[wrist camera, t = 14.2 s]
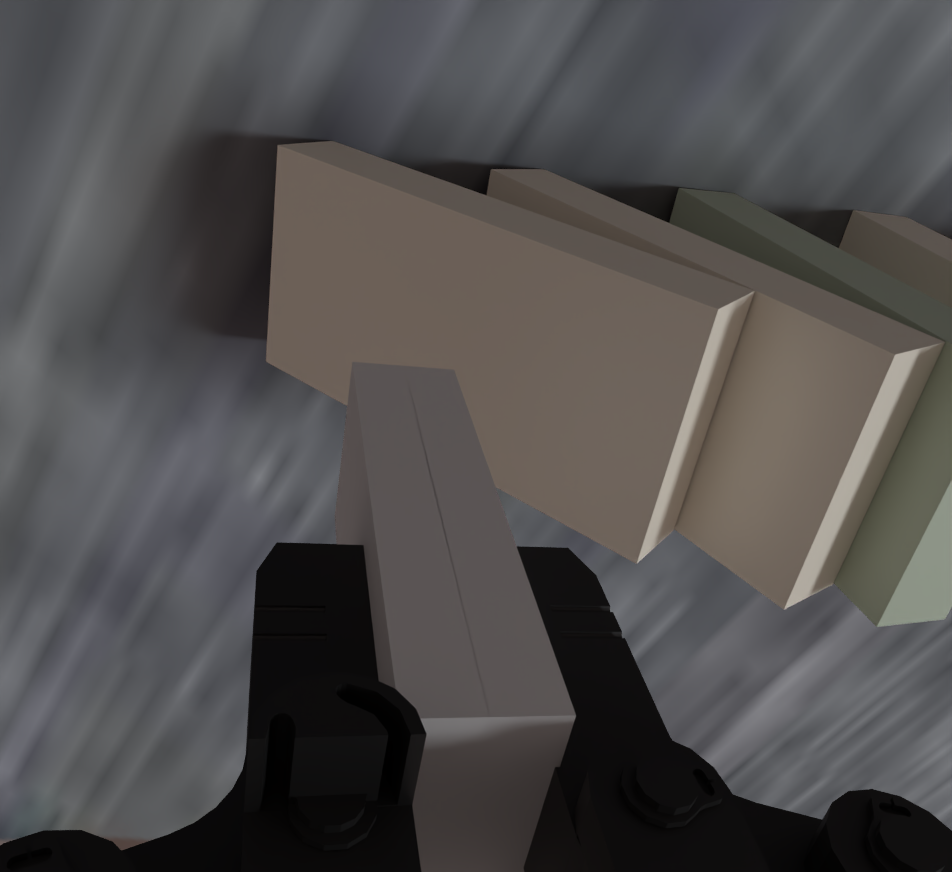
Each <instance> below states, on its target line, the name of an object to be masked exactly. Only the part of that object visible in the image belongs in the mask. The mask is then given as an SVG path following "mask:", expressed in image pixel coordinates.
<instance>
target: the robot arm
mask: <svg viewBox="0 0 952 872" xmlns="http://www.w3.org/2000/svg"><path fill="white" fill-rule="evenodd" d="M335 526H336V540H337V544H310V543H276V544H275V546H274V547H273V549H272V550H271V551H270V553H269V554H268V556H267V557H266V559H265V560H264V561H263V563H262V564H261V566H260V567H259V568H258V570H257V573H256V589H255V605H254V622H253V638H252V654H251V671H250V689H249V707H248V725H247V743H246V756H245V761H244V766H243V770H242V772H241V774H240V776H239V778H238V779H237V781H236V783H235V785H234V787H233V789H232V790H231V791H230V792H229V793H228V794H227V796H226V797H225V798H224V799H223V800H222V801H221V802H220V803H219V805H218V806H217V807H216V808H214V809H213V810H212V811H210V812H209V813H207V814H206V815H205V816H203V817H202V818H200V819H199V820H198V821H196V822H195V823H193V824H191V825H188V826H186V827H184V828H182V829H180V830H177V831H175V832H173V833H171V834H169V835H166V836H163V837H160V838H157V839H154V840H151V841H148V842H145V843H142V844H139V845H136V846H134V847H131V848H128V849H125V850H122V851H121V850H120V849H119V848H118V847H117V846H116V845H115V844H114V843H113V842H112V841H109V840H107V839H104V838H101V837H99V836H96V835H93V834H90V833H88V832H85V831H82V830H52V831H41V832H38V833H34V834H31V835H28V836H25V837H22V838H19V839H16V840H13V841H9V842H6V843H3V844H2V845H0V872H952V831H951V830H950V829H949V828H948V827H946V826H945V825H944V824H943V823H942V822H941V821H939V820H938V819H937V818H936V817H935V816H933V815H932V814H931V813H930V812H928V811H926V810H925V809H923V808H921V807H919V806H917V805H915V804H913V803H912V802H910V801H908V800H906V799H904V798H902V797H900V796H897V795H893V794H889V793H885V792H881V791H877V790H873V789H869V790H858V791H848V792H847V793H845V794H844V795H842V796H841V797H840V798H838V799H837V800H835V801H834V802H832V804H831V806H830V807H829V809H828V811H827V813H826V815H825V816H824V818H823V820H821V819H817V818H813V817H809V816H806V815H802V814H798V813H794V812H790V811H786V810H782V809H778V808H774V807H770V806H767V805H763V804H759V803H755V802H752V801H750V800H747V799H744V798H741V797H738V796H735V795H733V794H732V793H731V791H730V790H729V788H728V787H727V785H726V784H725V783H724V781H723V780H722V778H721V777H720V776H719V774H718V773H717V771H716V770H715V769H714V767H713V766H711V765H710V764H709V763H708V762H706V761H705V760H704V759H703V758H701V757H700V756H699V755H698V754H696V753H695V752H694V751H693V750H691V749H690V748H688V747H685V746H683V745H681V744H679V743H676V742H674V741H672V739H671V737H670V736H669V734H668V732H667V729H666V727H665V725H664V723H663V721H662V718H661V716H660V714H659V712H658V710H657V708H656V705H655V703H654V701H653V699H652V697H651V694H650V692H649V690H648V688H647V686H646V683H645V681H644V679H643V677H642V675H641V673H640V670H639V668H638V666H637V664H636V662H635V659H634V657H633V655H632V653H631V651H630V648H629V646H628V644H627V642H626V640H625V638H622V631H621V629H620V627H619V624H618V622H617V620H616V618H615V616H614V614H613V612H610V605H609V603H608V600H607V598H606V596H605V594H604V592H603V589H602V587H601V585H600V583H599V581H598V579H597V576H596V575H595V574H594V573H593V572H592V571H591V570H590V569H589V568H588V567H587V566H586V565H585V564H584V563H583V562H582V561H581V560H580V559H579V558H578V557H577V556H576V555H575V554H574V553H573V552H572V551H571V550H570V549H569V548H551V547H516V544H515V541H514V538H513V535H512V532H511V530H510V527H509V524H508V521H507V518H506V515H505V513H504V510H503V507H502V504H501V501H500V498H499V496H498V493H497V490H496V487H495V484H494V481H493V479H492V476H491V473H490V470H489V467H488V464H487V462H486V459H485V456H484V453H483V450H482V447H481V445H480V442H479V439H478V436H477V433H476V430H475V427H474V425H473V422H472V419H471V416H470V413H469V410H468V408H467V405H466V402H465V399H464V396H463V393H462V391H461V388H460V385H459V382H458V379H457V376H456V374H455V371H454V370H452V369H439V368H426V367H413V366H400V365H387V364H374V363H362V362H352V369H351V378H350V386H349V395H348V404H347V413H346V422H345V431H344V440H343V449H342V458H341V467H340V476H339V484H338V493H337V502H336V511H335Z"/></svg>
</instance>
